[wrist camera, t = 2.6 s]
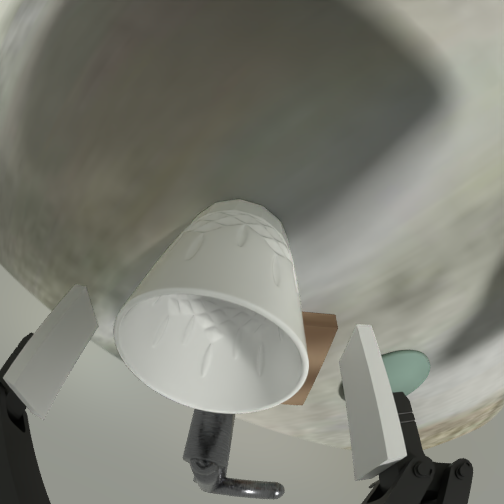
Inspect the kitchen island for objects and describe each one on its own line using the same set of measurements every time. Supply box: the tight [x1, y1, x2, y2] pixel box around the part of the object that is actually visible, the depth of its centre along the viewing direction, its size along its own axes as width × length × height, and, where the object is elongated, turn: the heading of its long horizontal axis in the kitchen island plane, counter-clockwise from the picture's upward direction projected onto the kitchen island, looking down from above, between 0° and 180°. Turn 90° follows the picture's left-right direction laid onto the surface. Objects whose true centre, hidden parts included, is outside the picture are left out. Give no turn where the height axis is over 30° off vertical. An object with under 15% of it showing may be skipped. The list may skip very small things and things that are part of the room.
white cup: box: [113, 199, 309, 414], centre depth 14 cm, size 8×8×10 cm
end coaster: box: [344, 350, 430, 396], centre depth 25 cm, size 10×10×1 cm
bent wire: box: [183, 409, 284, 499], centre depth 18 cm, size 9×7×11 cm
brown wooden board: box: [281, 312, 338, 405], centre depth 23 cm, size 12×11×2 cm
